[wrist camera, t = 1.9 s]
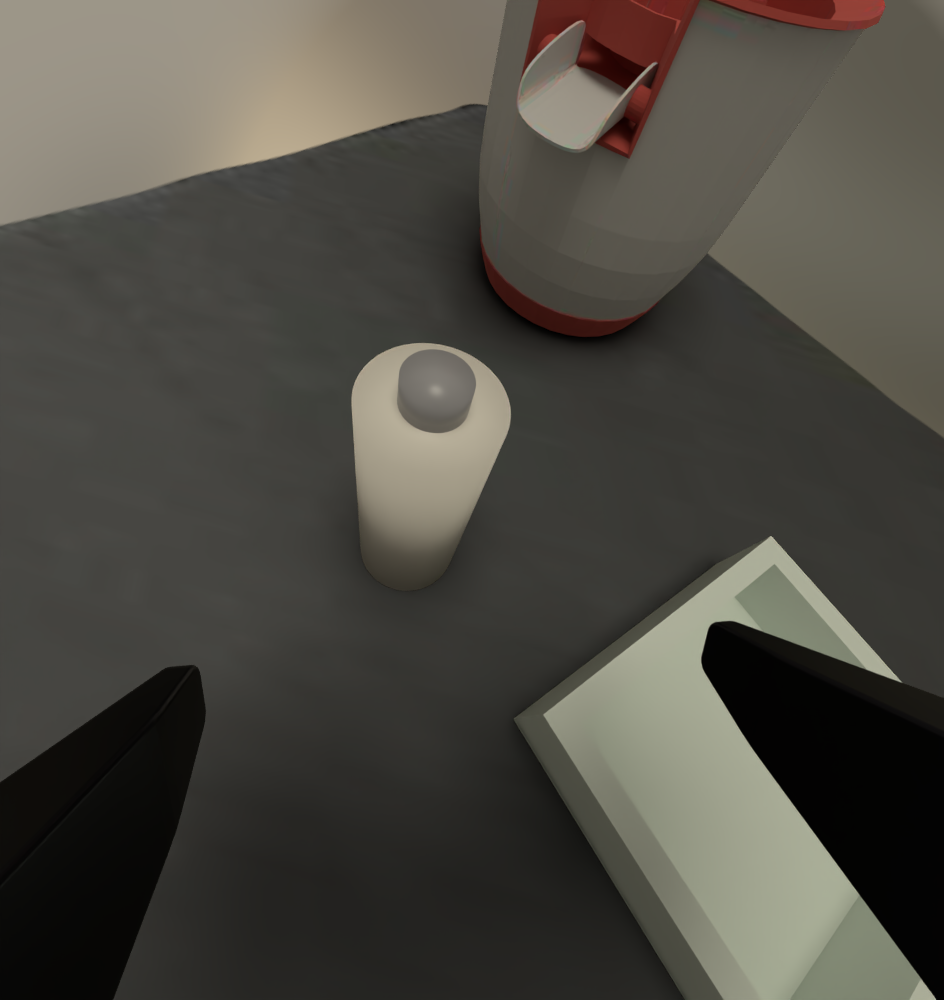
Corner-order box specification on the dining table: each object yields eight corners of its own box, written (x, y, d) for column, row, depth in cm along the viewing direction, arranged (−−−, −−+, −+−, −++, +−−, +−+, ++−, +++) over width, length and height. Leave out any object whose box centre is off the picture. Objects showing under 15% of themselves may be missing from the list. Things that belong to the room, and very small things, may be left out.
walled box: (746, 1100, 16) (851, 1201, 12) (513, 718, 20) (543, 714, 16) (928, 818, 21) (1037, 834, 18) (716, 564, 25) (771, 535, 22)
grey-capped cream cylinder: (389, 608, 21) (406, 479, 11) (343, 529, 22) (319, 344, 12) (469, 562, 23) (552, 412, 12) (423, 491, 24) (463, 300, 14)
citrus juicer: (390, 280, 31) (415, -333, 13) (534, 188, 39) (668, -268, 21) (585, 421, 28) (930, -94, 11) (695, 292, 36) (995, -124, 19)
